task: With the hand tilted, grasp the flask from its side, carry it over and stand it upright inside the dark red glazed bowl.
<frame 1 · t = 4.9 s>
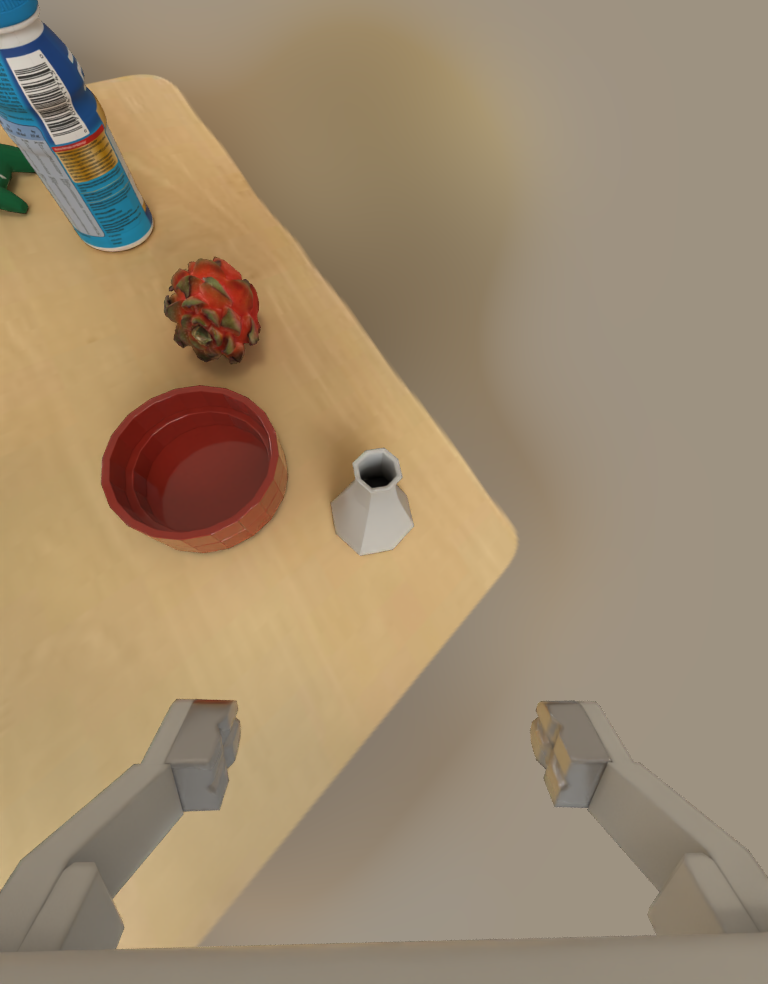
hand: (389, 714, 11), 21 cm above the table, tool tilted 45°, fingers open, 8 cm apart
gaming controller: (12, 192, 47), on the table
dragon fruit: (225, 337, 41), on the table
flask: (372, 515, 35), on the table
beverage bottle: (119, 231, 46), on the table
bowl: (213, 481, 35), on the table
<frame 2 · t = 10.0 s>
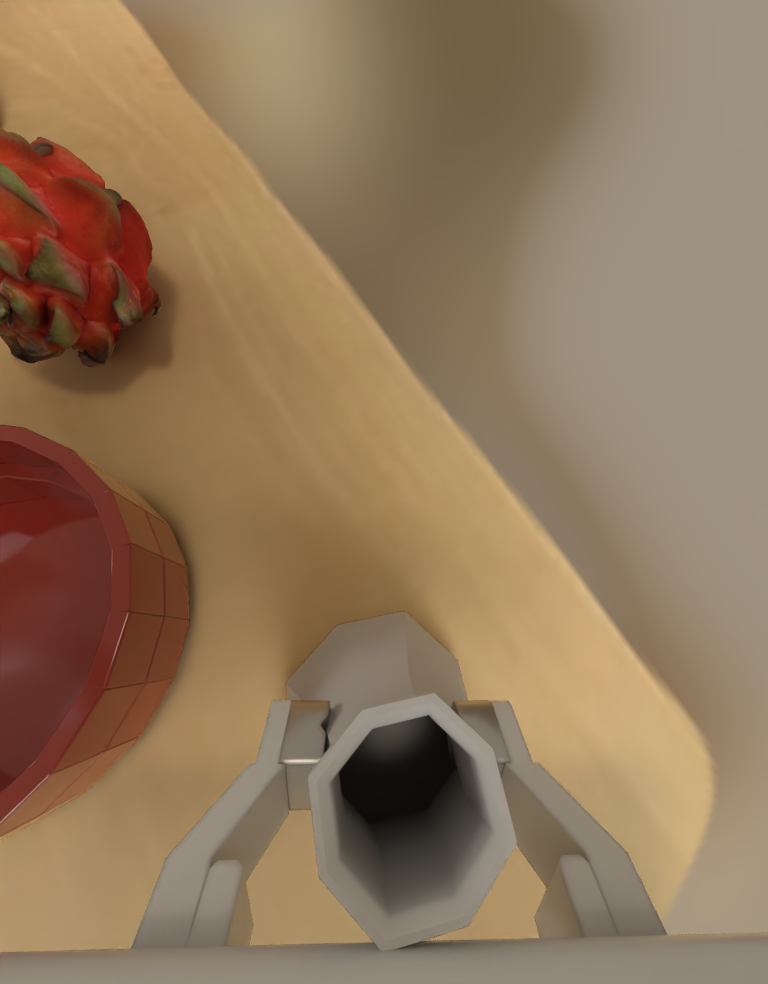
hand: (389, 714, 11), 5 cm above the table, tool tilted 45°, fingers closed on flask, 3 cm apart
dragon fruit: (100, 316, 22), on the table
flask: (379, 708, 16), on the table, touching gripper
bowl: (24, 630, 16), on the table
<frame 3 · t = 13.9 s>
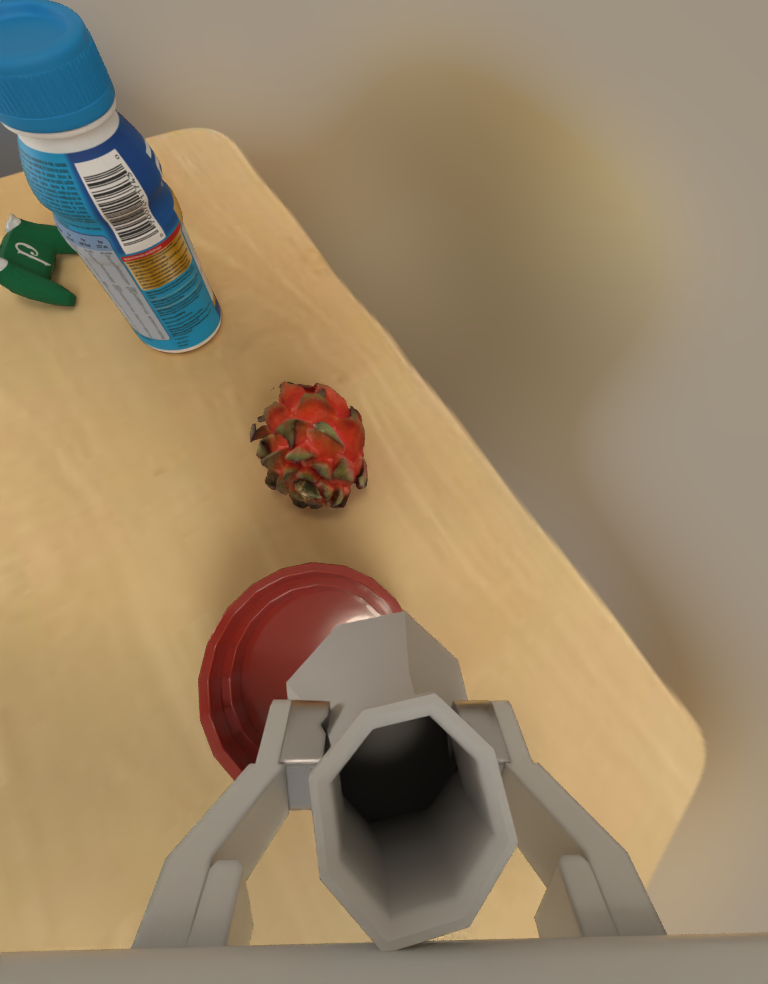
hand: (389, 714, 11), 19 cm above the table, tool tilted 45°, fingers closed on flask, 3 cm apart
gaming controller: (57, 278, 40), on the table
dragon fruit: (316, 462, 34), on the table
flask: (380, 708, 16), point 13 cm above the table, touching gripper
beverage bottle: (182, 324, 39), on the table
bowl: (320, 667, 28), on the table
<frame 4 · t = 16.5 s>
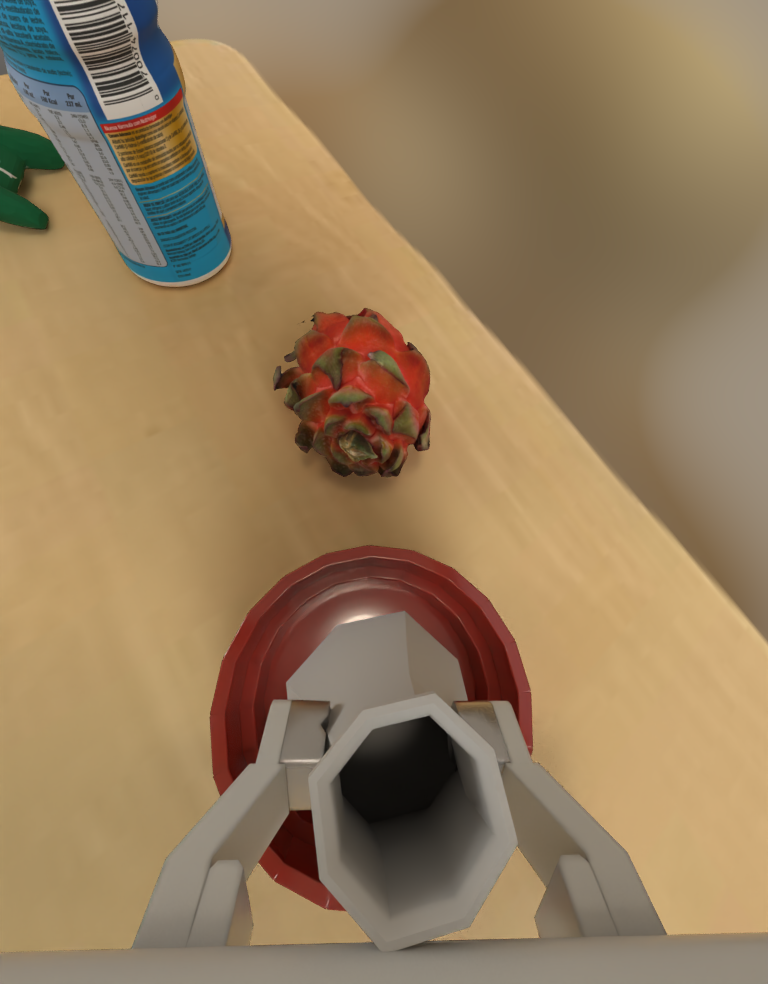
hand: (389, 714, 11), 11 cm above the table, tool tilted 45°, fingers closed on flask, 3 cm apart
gaming controller: (25, 198, 32), on the table
dragon fruit: (355, 422, 27), on the table
flask: (380, 708, 16), point 6 cm above the table, touching gripper
beverage bottle: (182, 254, 31), on the table
bowl: (371, 689, 21), on the table
when the fingers open (6 cm above the table, at t = 18.3 s): flask stays where it is, resting on bowl.
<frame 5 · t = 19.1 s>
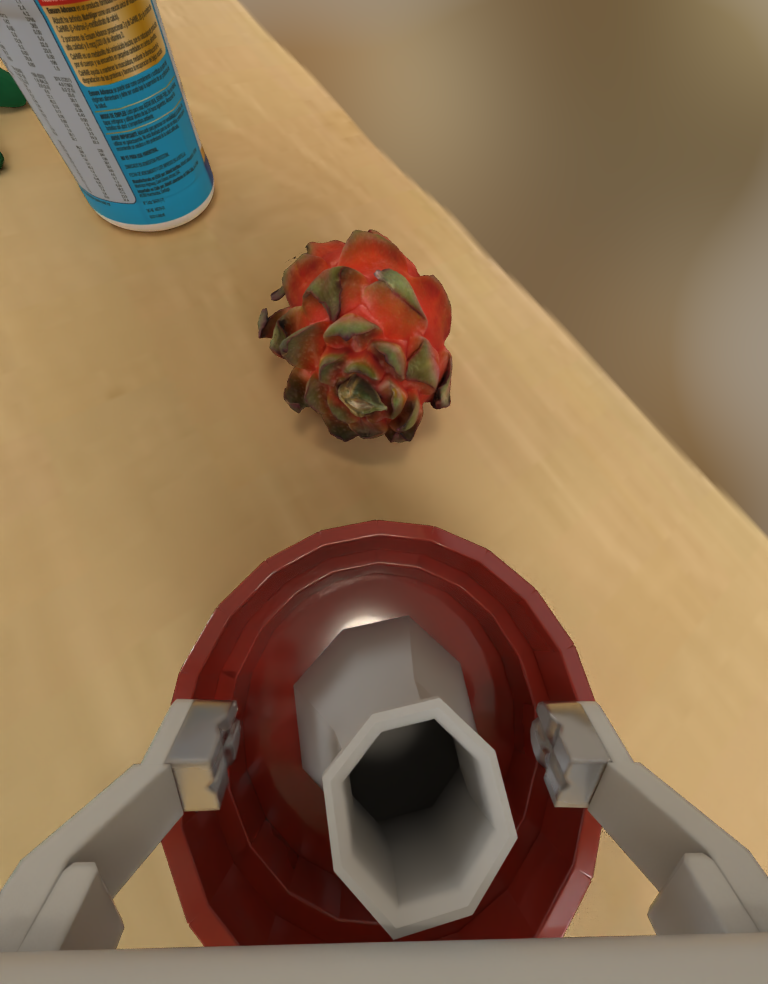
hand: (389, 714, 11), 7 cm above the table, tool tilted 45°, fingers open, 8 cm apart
dragon fruit: (357, 383, 22), on the table
flask: (384, 710, 16), resting on bowl
beverage bottle: (157, 198, 27), on the table
bowl: (380, 706, 16), on the table
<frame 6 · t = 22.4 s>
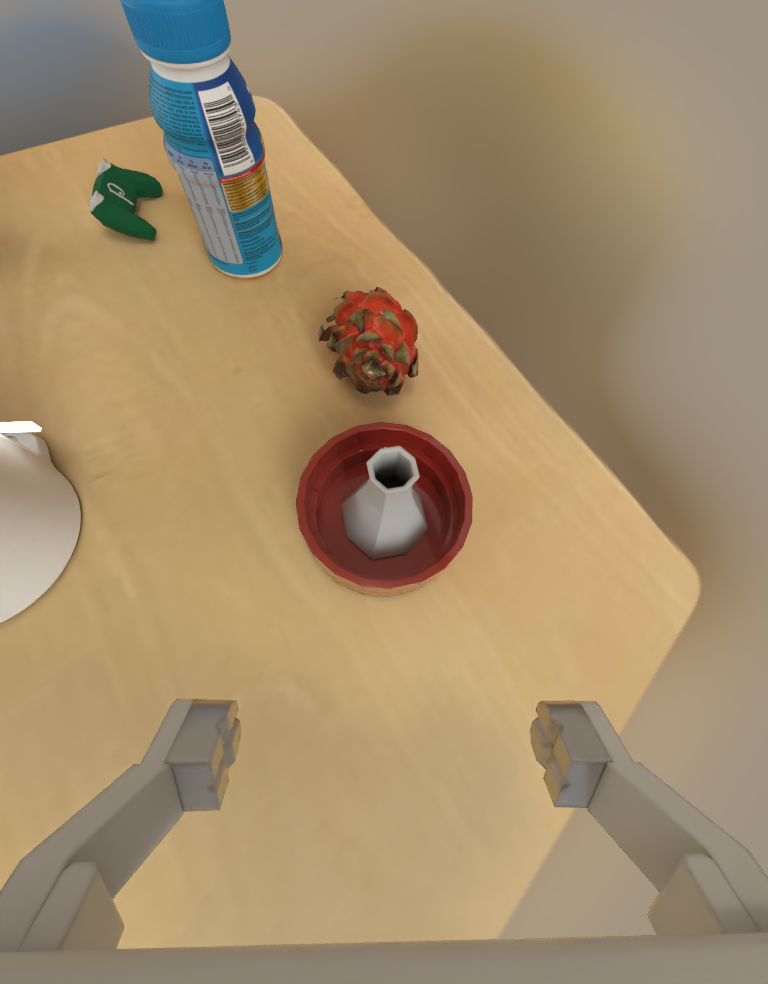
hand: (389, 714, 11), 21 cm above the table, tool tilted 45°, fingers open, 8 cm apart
gaming controller: (136, 218, 46), on the table
dragon fruit: (369, 366, 40), on the table
flask: (384, 518, 34), resting on bowl
beverage bottle: (247, 256, 45), on the table
bowl: (382, 518, 34), on the table
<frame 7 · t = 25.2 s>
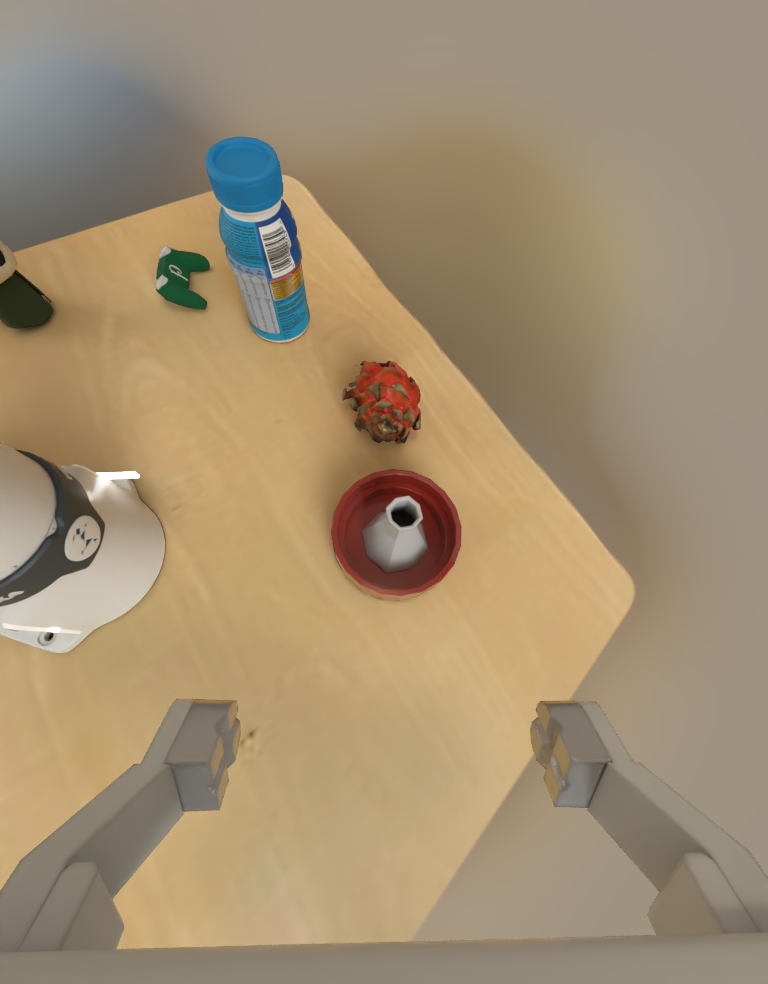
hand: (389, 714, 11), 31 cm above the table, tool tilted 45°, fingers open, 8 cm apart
gaming controller: (189, 289, 56), on the table
dragon fruit: (381, 416, 51), on the table
flask: (394, 540, 44), resting on bowl
character mug: (31, 315, 53), on the table
beverage bottle: (281, 322, 55), on the table
bowl: (393, 540, 45), on the table
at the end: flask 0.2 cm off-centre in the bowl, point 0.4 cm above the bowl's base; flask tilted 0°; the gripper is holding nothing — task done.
